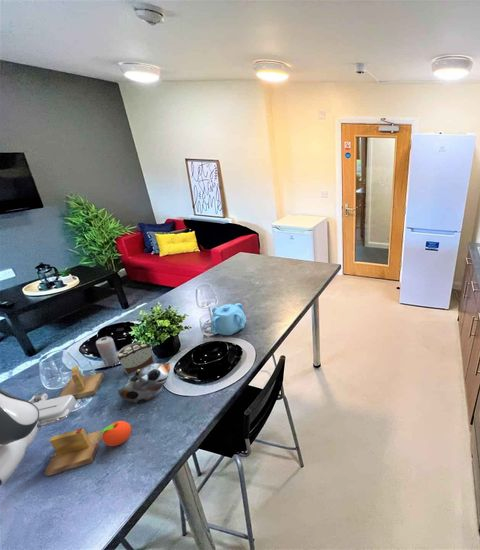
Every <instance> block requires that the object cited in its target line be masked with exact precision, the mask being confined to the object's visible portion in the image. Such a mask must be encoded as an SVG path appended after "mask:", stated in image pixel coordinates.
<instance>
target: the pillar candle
mask: <svg viewBox="0 0 480 550" xmlns="http://www.w3.org/2000/svg"><path fill="white" fill-rule="evenodd" d="M95 346H96V348H97V350H98V353H99V356H100V358H101V360H102V363H103V365H104V366H105V367H106V366H112V367H114V366H113V365H115V364H117V363H119V362H120V361H119V360H118V362H117V359H116V356H117V353H118V352H119V350H118V348H117V346H116V343H115V341H114V338H112V336H103V337H100V338H99V339H97V340H96V341H95ZM119 364H120V363H119ZM117 365H118V364H117ZM115 366H116V365H115Z"/></svg>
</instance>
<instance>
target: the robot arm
mask: <svg viewBox="0 0 480 550" xmlns="http://www.w3.org/2000/svg"><path fill="white" fill-rule="evenodd" d="M48 398H49V396H48V393H46V392H45V393H42V394H36V395H32V398H31V399H29V400H27V399H24V398H21V397H18V396H14V395H13V394H10V393H9V392H6V391H5V390H3V389H2V388H0V487H1V486H2V485H3V484H4V483H5V482H6V481H8V479H10V478H11V476H12V475H13V473H14V472H15V471H16V469H17V468H18V467H19V465H20V464H21V462H22V461H23V458H24V457H25V454H26V450H27V449H28V448H29V447H30V446H31V445H32V444H33V442H34V440H35V439H36V437H37V435H38V434H39V432H40V431H41V429H42V427H45V426H48V425H51V424H57V423H60V422H61V421H63V420H65V419H66V418H67V417H68V416H69V415H70V414H71V412H72V411H73V409H74V408H75V407H76V405H77V399H75V398H74V396H72V395H67V396H63V397H59V396H58V397H54V398H50V399H48Z"/></svg>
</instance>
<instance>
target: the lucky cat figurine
mask: <svg viewBox="0 0 480 550" xmlns="http://www.w3.org/2000/svg"><path fill="white" fill-rule="evenodd" d="M170 371H171V362H169V361H167V362H165V363H156V362H154V363H153V364H151V365H149V366H147V367H145V368H143V369H141V370H140V369H138V370H137V371H136V372H134V375H133V376H130V377H129V378H128V379H127V380H126V382H125V384H124V385H123V387H122V388H120V389H117V390H118V391H117V394H118V395H119V397H121V399H123V400H126V401H127V402H129V403H134V404H139V403H141V402H143V403H146V402H149V401H150V400H152V399H153V398H155V397H156V396H158V395H159V394H160V393H162V389H163V386H164V384H165V383H166V382H167V381H168V379H169V373H170Z"/></svg>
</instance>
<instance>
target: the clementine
mask: <svg viewBox="0 0 480 550" xmlns="http://www.w3.org/2000/svg"><path fill="white" fill-rule="evenodd" d="M101 430H102V431H101V432H100V433H102V432H103V436H102V442H103V443H104V444H105V445H106V446H108V447H117V446H120V445H121V444H124V443H125V442H126V441H127V440H128V439H129V438H130V436H131V433H132V425H131V424H130V423H129V422H127V421H123V420H119V421H115V422H112V423H111V424H109V425H108V426H106V427H104V428H102V429H101ZM100 433H99V434H100ZM99 434H98V435H99ZM97 438H98V437H97Z"/></svg>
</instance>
